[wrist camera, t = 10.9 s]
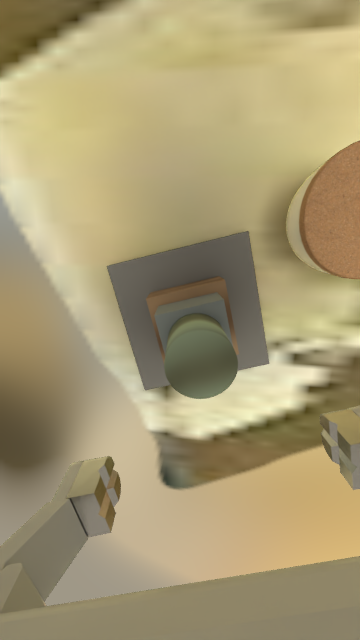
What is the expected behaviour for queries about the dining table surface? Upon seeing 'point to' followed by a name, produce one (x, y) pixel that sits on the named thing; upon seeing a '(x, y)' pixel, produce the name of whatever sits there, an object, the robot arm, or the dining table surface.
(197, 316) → the olive green cylinder
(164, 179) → the dining table surface
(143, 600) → the robot arm
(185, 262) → the mat
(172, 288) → the block
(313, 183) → the lidded jar
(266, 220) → the dining table surface
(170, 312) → the tower top
